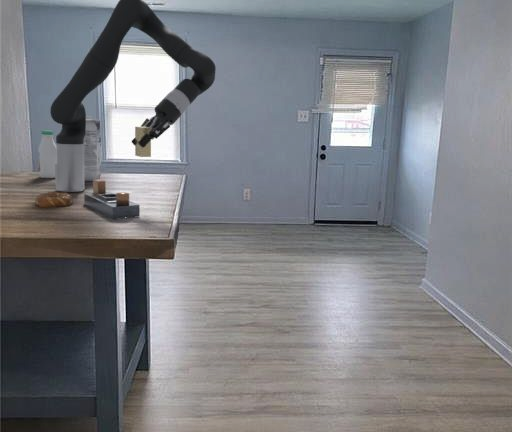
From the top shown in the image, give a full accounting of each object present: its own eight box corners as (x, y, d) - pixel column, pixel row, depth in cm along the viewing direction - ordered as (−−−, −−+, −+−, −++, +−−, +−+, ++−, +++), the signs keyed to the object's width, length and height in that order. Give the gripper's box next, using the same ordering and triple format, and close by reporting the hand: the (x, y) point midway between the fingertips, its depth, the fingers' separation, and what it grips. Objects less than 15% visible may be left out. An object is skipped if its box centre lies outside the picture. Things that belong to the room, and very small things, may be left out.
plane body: (84, 204, 147) (83, 179, 146) (108, 202, 152) (108, 178, 151) (112, 219, 129) (112, 191, 128) (139, 216, 134) (139, 189, 132)
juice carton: (95, 181, 194) (94, 116, 188) (71, 180, 194) (69, 115, 188) (103, 179, 203) (102, 116, 197) (79, 177, 203) (77, 115, 197)
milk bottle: (62, 177, 202) (61, 131, 198) (49, 179, 195) (47, 131, 190) (48, 175, 204) (46, 130, 200) (35, 177, 197) (32, 130, 193)
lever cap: (135, 155, 145) (135, 126, 143) (145, 155, 147) (145, 126, 145) (141, 156, 141) (141, 127, 140) (151, 156, 144) (151, 127, 142)
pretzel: (55, 210, 138) (55, 198, 138) (26, 206, 141) (25, 194, 141) (81, 203, 150) (81, 192, 149) (53, 200, 153) (52, 189, 152)
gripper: (155, 97, 150) (119, 134, 145) (176, 97, 139) (138, 137, 135) (169, 115, 155) (135, 151, 150) (191, 116, 144) (155, 155, 139)
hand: (137, 144), depth 142 cm, fingers closed on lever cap, 4 cm apart
